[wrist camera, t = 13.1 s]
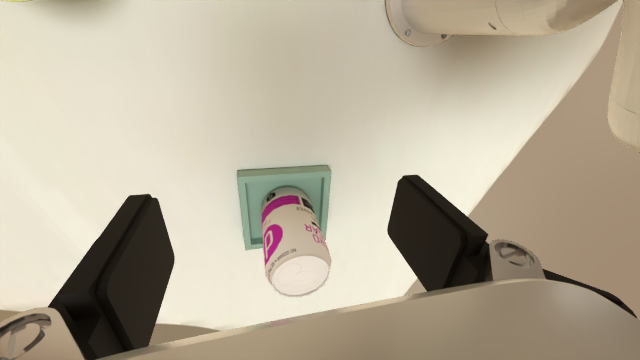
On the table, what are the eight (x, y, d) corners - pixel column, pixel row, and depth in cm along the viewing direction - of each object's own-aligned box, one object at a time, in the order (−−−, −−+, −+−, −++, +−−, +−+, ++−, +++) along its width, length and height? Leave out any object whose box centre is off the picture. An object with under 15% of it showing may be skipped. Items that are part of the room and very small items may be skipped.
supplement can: (253, 218, 43) (255, 296, 31) (273, 178, 41) (284, 244, 28) (296, 230, 47) (315, 304, 34) (318, 193, 44) (346, 259, 31)
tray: (327, 165, 42) (331, 171, 41) (322, 232, 49) (325, 240, 47) (237, 170, 39) (237, 177, 37) (245, 241, 46) (245, 250, 44)
